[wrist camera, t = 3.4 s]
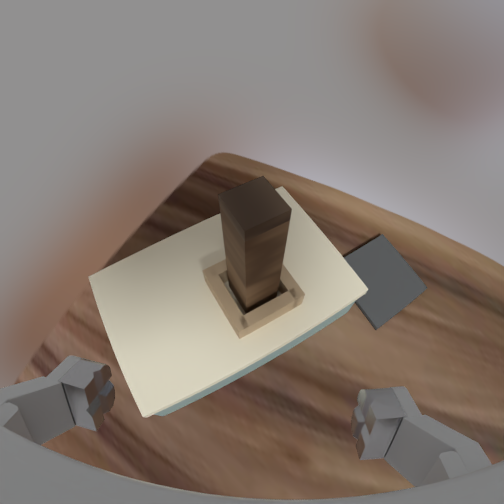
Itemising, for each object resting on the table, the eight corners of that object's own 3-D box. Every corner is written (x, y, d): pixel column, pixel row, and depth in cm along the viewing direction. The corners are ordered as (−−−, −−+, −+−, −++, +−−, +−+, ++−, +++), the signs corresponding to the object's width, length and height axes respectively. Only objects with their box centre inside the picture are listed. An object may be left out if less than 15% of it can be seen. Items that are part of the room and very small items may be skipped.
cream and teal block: (278, 219, 40) (283, 173, 33) (350, 313, 33) (375, 279, 26) (110, 301, 34) (80, 266, 27) (162, 420, 27) (134, 415, 20)
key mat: (381, 236, 39) (382, 234, 38) (425, 289, 34) (427, 287, 34) (328, 268, 36) (329, 266, 36) (375, 330, 32) (377, 328, 32)
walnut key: (258, 272, 29) (263, 175, 19) (276, 298, 28) (291, 209, 17) (229, 287, 28) (218, 194, 18) (246, 314, 27) (244, 231, 17)
